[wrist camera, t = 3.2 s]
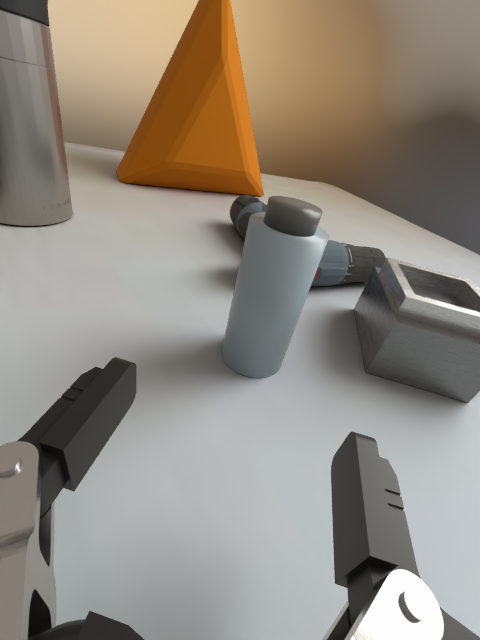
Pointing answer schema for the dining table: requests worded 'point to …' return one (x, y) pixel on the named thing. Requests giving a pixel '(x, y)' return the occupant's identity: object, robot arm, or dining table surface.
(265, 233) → the capped canister
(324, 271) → the power drill
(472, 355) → the grey metal open box
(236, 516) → the dining table surface
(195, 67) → the decorative object
